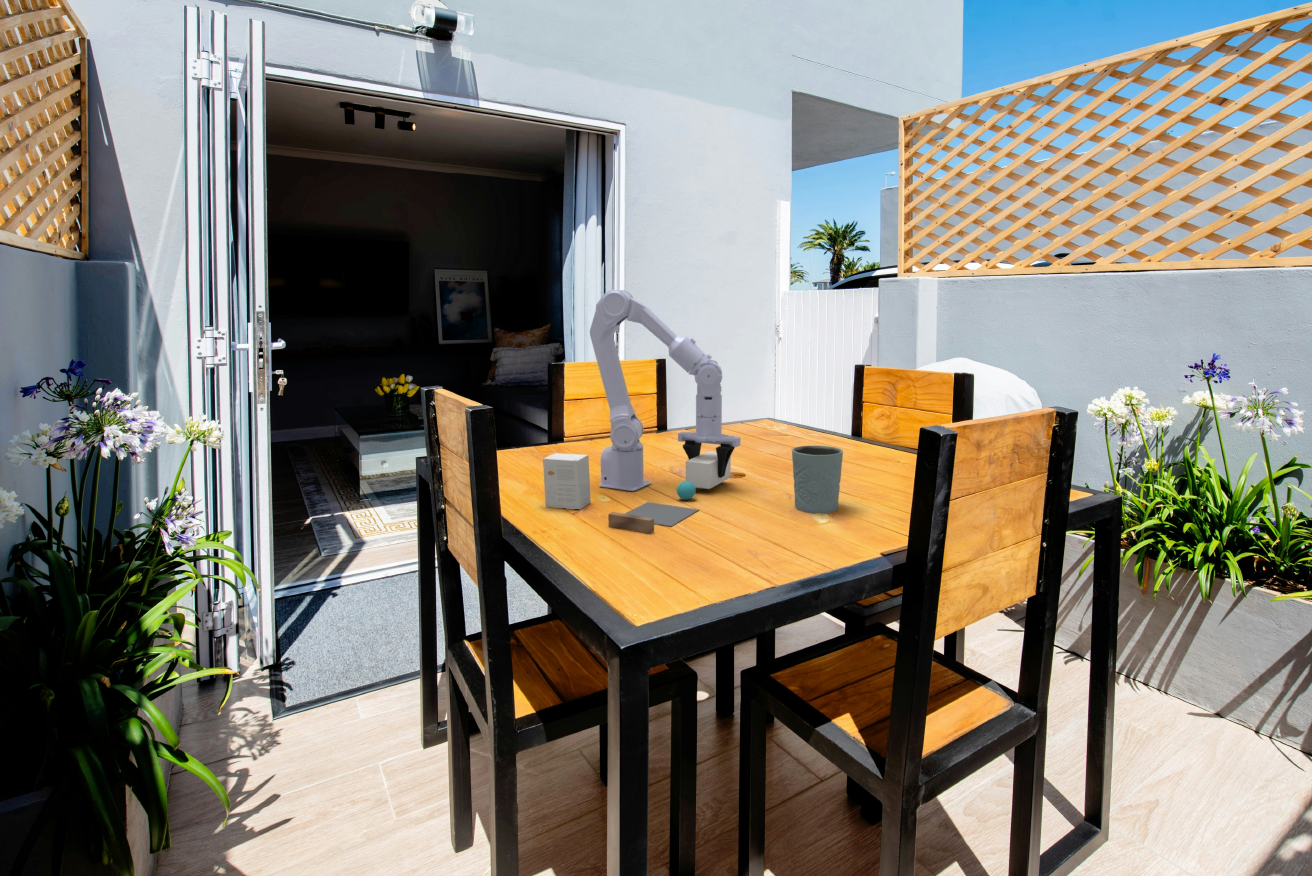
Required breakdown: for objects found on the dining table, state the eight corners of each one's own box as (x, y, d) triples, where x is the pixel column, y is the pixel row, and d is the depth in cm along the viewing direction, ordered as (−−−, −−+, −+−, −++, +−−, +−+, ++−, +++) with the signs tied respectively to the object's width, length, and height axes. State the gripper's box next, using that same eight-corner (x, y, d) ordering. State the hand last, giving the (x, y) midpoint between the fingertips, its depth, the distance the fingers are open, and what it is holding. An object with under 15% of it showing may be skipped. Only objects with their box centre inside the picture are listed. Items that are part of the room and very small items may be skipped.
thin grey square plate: (616, 518, 139) (616, 517, 139) (647, 502, 149) (647, 502, 149) (670, 527, 133) (670, 525, 133) (699, 510, 143) (699, 509, 143)
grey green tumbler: (812, 517, 138) (814, 457, 136) (780, 504, 147) (781, 447, 145) (851, 509, 143) (854, 451, 140) (818, 497, 151) (820, 442, 149)
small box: (591, 503, 150) (589, 454, 148) (579, 510, 144) (578, 460, 142) (557, 500, 152) (555, 452, 150) (544, 507, 147) (542, 457, 145)
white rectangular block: (685, 486, 157) (685, 461, 156) (708, 474, 167) (708, 451, 166) (709, 489, 154) (709, 463, 153) (730, 477, 164) (730, 453, 163)
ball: (673, 500, 151) (673, 482, 150) (682, 496, 154) (682, 478, 153) (690, 503, 149) (690, 484, 148) (698, 498, 152) (698, 480, 151)
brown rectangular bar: (608, 526, 134) (608, 513, 133) (613, 524, 135) (612, 511, 134) (650, 533, 129) (649, 520, 129) (654, 531, 131) (653, 518, 130)
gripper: (671, 415, 158) (671, 475, 160) (731, 420, 151) (731, 482, 153) (685, 411, 164) (686, 468, 166) (744, 415, 157) (743, 475, 159)
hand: (708, 475), depth 160 cm, fingers closed on white rectangular block, 6 cm apart
